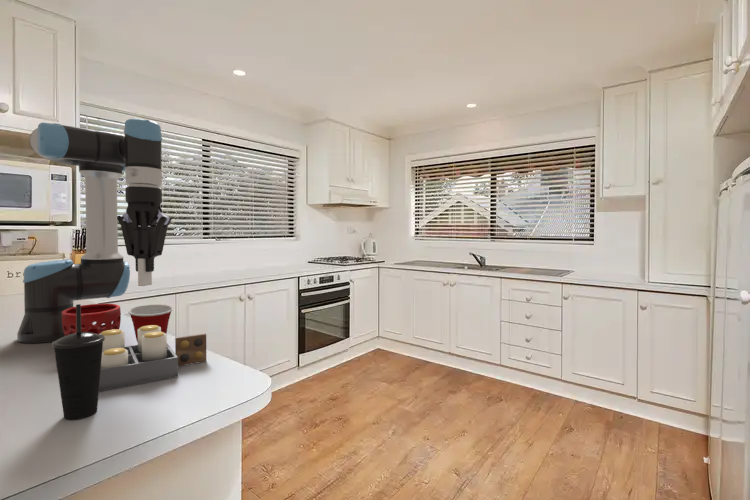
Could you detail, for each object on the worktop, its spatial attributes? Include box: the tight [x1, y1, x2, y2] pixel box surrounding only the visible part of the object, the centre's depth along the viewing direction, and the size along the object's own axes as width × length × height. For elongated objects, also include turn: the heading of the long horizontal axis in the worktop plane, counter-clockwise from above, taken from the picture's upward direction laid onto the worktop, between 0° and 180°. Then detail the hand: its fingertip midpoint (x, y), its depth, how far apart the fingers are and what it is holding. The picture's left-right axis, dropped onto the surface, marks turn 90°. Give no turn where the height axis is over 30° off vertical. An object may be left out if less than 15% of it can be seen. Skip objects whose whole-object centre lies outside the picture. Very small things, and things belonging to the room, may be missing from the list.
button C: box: [101, 348, 128, 369], centre depth 87 cm, size 5×5×5 cm
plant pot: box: [62, 303, 122, 336], centre depth 109 cm, size 13×13×12 cm
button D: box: [142, 332, 168, 361], centre depth 91 cm, size 5×5×5 cm
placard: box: [174, 333, 207, 367], centre depth 100 cm, size 1×7×7 cm, turn 127°
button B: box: [137, 325, 161, 352], centre depth 98 cm, size 5×5×5 cm
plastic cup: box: [127, 303, 174, 344], centre depth 109 cm, size 11×11×12 cm
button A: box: [99, 328, 126, 353], centre depth 93 cm, size 5×5×5 cm
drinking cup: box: [51, 304, 105, 421], centre depth 72 cm, size 8×8×20 cm
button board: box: [99, 343, 179, 392], centre depth 92 cm, size 16×16×4 cm
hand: (145, 285), depth 96 cm, fingers closed
